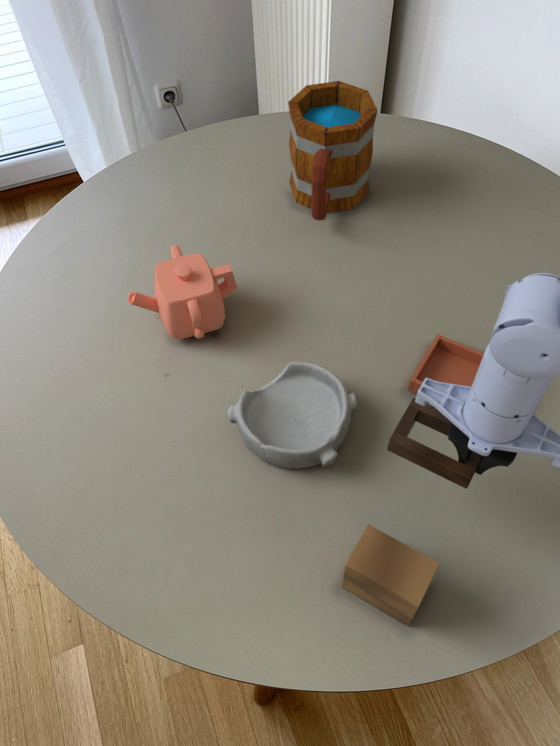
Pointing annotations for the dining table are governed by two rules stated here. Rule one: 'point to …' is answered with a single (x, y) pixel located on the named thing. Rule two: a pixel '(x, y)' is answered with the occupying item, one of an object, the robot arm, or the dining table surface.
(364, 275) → the dining table surface
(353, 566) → the stand
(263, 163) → the dining table surface
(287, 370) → the dish
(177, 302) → the teapot
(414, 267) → the dining table surface
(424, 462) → the frame
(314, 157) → the mug
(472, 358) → the holder
